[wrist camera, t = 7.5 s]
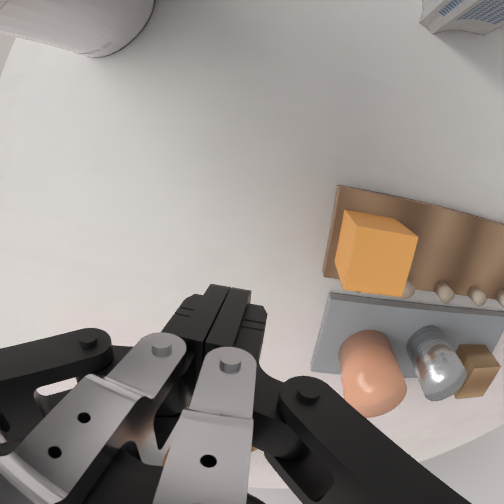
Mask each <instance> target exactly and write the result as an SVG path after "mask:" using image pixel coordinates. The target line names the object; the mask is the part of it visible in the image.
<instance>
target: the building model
mask: <svg viewBox="0 0 504 504" xmlns="http://www.w3.org/2000/svg"><path fill="white" fill-rule="evenodd" d="M420 24H422V25H423V26H425V27H426V28H427V29H428V30H429V31H430V32H431V33H432V34H435V33H438V32H442V31H449V30H460V31H467V32H472V33H476V34H479V35H485V34H487V33H489V32H491V31H493V30H495V29H497V28H500V27H502V26H504V0H423V13H422V17H421V20H420Z"/></svg>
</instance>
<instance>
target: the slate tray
mask: <svg viewBox="0 0 504 504" xmlns="http://www.w3.org/2000/svg"><path fill="white" fill-rule="evenodd" d="M429 325H433V326H437V327H439V328H440V329H441V331H442V332H443V334H444V335H445V337H446V338H447V340H448V342H449V343H450V345H451V346H452V348H453V349H454V351H455V352H456V350H457V348H458V346H459V344H480V345H486V347H487V348H488V349H489V351H490V352H491V353H492V352H493V350H494V348H495V346H496V344H497V342H498V340H499V338H500V336H501V334H502V332H503V330H504V312H501V311H490V310H478V309H467V308H457V307H447V306H437V305H428V304H418V303H409V302H401V301H392V300H384V299H375V298H367V297H359V296H351V295H344V294H336V293H329V296H328V300H327V304H326V308H325V312H324V316H323V320H322V324H321V328H320V332H319V335H318V339H317V343H316V346H315V350H314V354H313V357H312V361H311V371H312V372H321V373H331V374H341V371H340V365H339V358H338V352H339V349H340V347H341V345H342V343H343V342H344V341H345V340H346V339H347V338H348V337H349V336H351V335H353V334H355V333H357V332H359V331H363V330H376V331H379V332H382V333H383V334H385V335H386V336H387V338H388V339H389V342H390V344H391V347H392V349H393V352H394V354H395V357H396V359H397V362H398V365H399V367H400V370H401V373H402V375H403V378H418V377H417V375H416V372H415V370H414V368H413V365H412V363H411V361H410V358H409V356H408V354H407V351H406V345H407V342H408V340H409V338H410V337H411V336H412V335H413V333H415V332H416V331H417V330H418V329H420V328H422V327H425V326H429Z"/></svg>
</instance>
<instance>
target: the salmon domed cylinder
mask: <svg viewBox="0 0 504 504" xmlns="http://www.w3.org/2000/svg"><path fill="white" fill-rule="evenodd" d="M338 358H339V365H340V371H341V378H342V386H343V393H344V399H345V400H346V401H347V402H348V403H349V404H350V405H351V406H352V407H354V408H355V409H356V410H357V411H358V412H359V413H360V414H362V415H363V416H364V417H365V418H370V417H376V416H380V415H383V414H385V413H387V412H389V411H391V410H393V409H394V408H395V407H397V406H398V405H399V404H400V403H401V402H402V400H403V399H404V397H405V395H406V391H407V387H406V383H405V381H404V378H403V375H402V373H401V370H400V367H399V365H398V362H397V359H396V357H395V354H394V352H393V349H392V347H391V344H390V342H389V339H388V338H387V336H386V335H385V334H383V333H382V332H379V331H376V330H363V331H359V332H357V333H355V334H353V335H351V336H349V337H348V338H347V339H346V340H345V341H344V342H343V343H342V345H341V347H340V349H339V352H338Z"/></svg>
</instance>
